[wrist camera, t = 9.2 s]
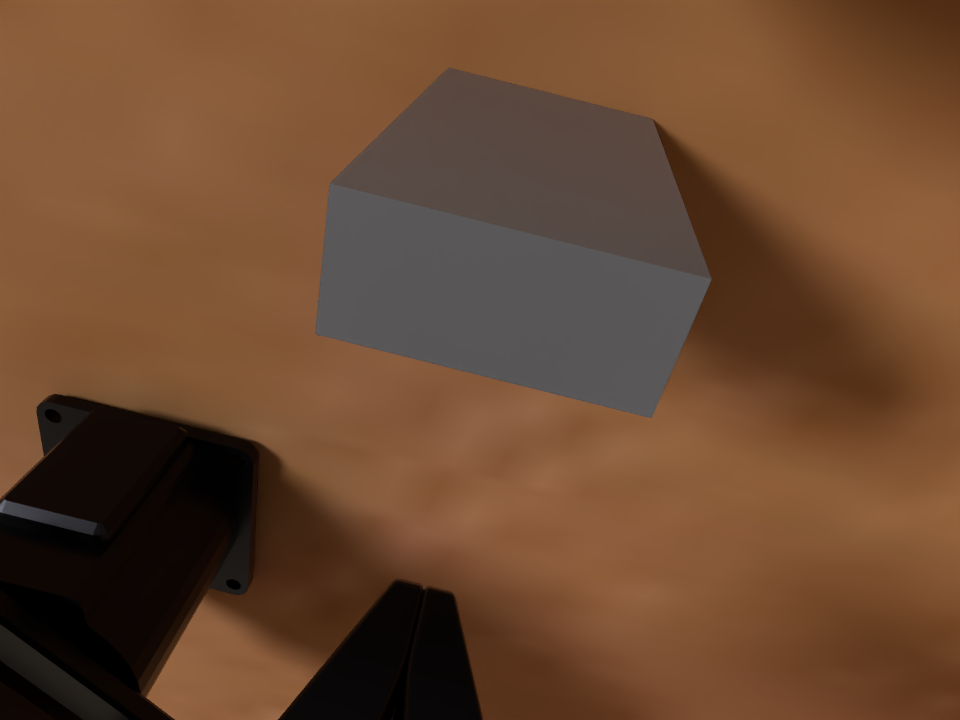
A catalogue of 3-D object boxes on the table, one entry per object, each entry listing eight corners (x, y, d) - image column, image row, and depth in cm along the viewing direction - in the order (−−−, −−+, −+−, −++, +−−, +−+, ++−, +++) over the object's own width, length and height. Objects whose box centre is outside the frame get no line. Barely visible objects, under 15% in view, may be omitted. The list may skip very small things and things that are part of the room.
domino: (622, 208, 16) (651, 418, 9) (432, 160, 16) (315, 333, 9) (652, 119, 15) (711, 279, 8) (448, 67, 15) (329, 183, 8)
